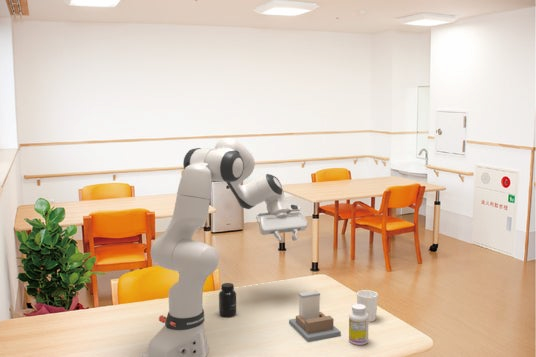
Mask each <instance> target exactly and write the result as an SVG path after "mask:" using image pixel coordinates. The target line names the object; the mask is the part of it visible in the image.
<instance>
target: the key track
mask: <svg viewBox="0 0 536 357" xmlns="http://www.w3.org/2000/svg"><path fill="white" fill-rule="evenodd" d="M288 324H289V325H290V326H291V327H292V328H293V329H294V330H295V331H296V332H297V333H298V334H299V335H300V336H301V337H302V338H303V339H304V340H305V341H306V342H308V343H309V342H315V341H320V340H325V339H330V338H335V337H341V335H342V331H341V330H339V328H337V327H336V326H335V325H334V318H333V317H332V316H331V315H326V314H324V312H321V311H320V317H319V318H313V319H307V320H305V321H304V320H303V319H302V318H301V317H300V316H299V314H298V315H296V316H295V318H290V319H289V320H288Z"/></svg>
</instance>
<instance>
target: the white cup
mask: <svg viewBox="0 0 536 357" xmlns="http://www.w3.org/2000/svg"><path fill="white" fill-rule="evenodd" d="M378 296H379V293H378V292H377V291H374V290H370V289H363V290H359V291H357V292H356V304H362V305H365V306H366V311H365V312H366V313H367V314H368V317H369V319H368V323H372V322H374V321H376V320H377V312H378V311H377V310H378V298H379V297H378Z"/></svg>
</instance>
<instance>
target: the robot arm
mask: <svg viewBox="0 0 536 357" xmlns="http://www.w3.org/2000/svg"><path fill="white" fill-rule="evenodd" d="M252 154H253V153H251V152H250V151H249V149H247V148H246V146H244V144H242V143H241V142H239V141H238V140H236V139H234V138H232V137H224V138H222V139H220V140H219V141H218V142H217V143H216V145H215V146H214V148H200V147H196V148H191V149H189V151H188V152H186V154H184V155H185V156H184V157H183V163H182V164H183V171H182V174H181V177H180V179H179V184H178V188H177V191H176V200H175V203H174V209H173V214H172V217H171V220H170V223H169V224H168V226H167V228H166V229H165V230H164V232H163V233H162V234H161V235H160V236H159V237H157V238H156V239H155V240H154V241H153V243H152V245H151V247H150V251H149V253H150V259H151V260H152V262H153V263H155V264H156V265H157V266H159V267H161V268H163V269H166V270H170V271H173V272H174V271H175V272H177V273H178V281H177V282H176V283H174V284H173V285H171V286H170V288H169V290H168V295H167V296H168V312H167V316H164V315H160V316H159V317H158V321H159V322H161V323H162V324H163V323H164V325H163V326H162V327H161V329H160V330H159V331H158V332H157V333H156V335H154V336H153V338H152V339H151V340H150V341H149V344H148V350H147V353H144V354H143V355H141V357H207V355H208V353H209V350H210V348H209V345H208V343H207V338H206V333H205V328H204V327H205V325H204V322H205V311H204V308H203V290H204V286H205V284H206V283H205V282H206V280H207V278H208V277H209V276H211V275H212V274H213V273H215V271H216V269H217V268H218V265H219V253H218V251H217V249H216V248H215V247H214V246H212V245H210V244H207V243H205V242H204V241H200V240H199V241H198V240H194V239H192V238H193V236H194V234H195V233H196V231H197V230H198V229H199V228H202V227H203V226H205V225H206V223H207V221H208V215H209V208H210V203H211V197H212V196H211V195H212V182H225V183H226V185H227V186H228V188H229V189H230V191H231V193H232V194H233V195H234V197H235V199H236V201H237V203H238V205H239V206H240V207H241V208H242V209H244V210H245V209H246V210H250V209H252V208H254V207H256V206H257V205H259V204H261V203H263V202H265V204H266V210H267V212H264V213H261V212H260V213H259V214H257V215H256V221H257V223H258V229H259V234H261V235H263V236H266V235H273V236H274V237H275V238H276V239H277V240H278V243H283V242H284V238H283V236H281V235H280V234H283V233H292V236H291V239H292V241H293V242H294V241H297V240H298V236H297V234H298V232H301V231H302V232H303V231H306V229H307V228H308V225H309V223H308V221H307V217H306V216H305V214H304V213H303V211H302V210H301V205H298V204H297V205H296V204H293V203H290V202H289V203H288V201H287V200H286V198H285V193H284V190H283V187H282V184H281V181H280V180H279V178H278V177H276V176H275V175H272V174H269V173H266V174H264V175H262V176H259V177H258V178H255V179H254V180H252V181H249V182H247V183H245V184H242V185H241V183H242V182H243V181H245V180H247V179H248V178H249V177H250V176H252V174H253V172H254V169H255V165H256V164H255V158H254V155H252Z"/></svg>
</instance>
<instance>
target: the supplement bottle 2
mask: <svg viewBox="0 0 536 357" xmlns="http://www.w3.org/2000/svg"><path fill="white" fill-rule="evenodd" d="M351 310H352V311H351V312H350V313H349V314H348V315H349V316H348V318H349V319H348V341H349V342H350V343H351V344H353V345H357V346H364V345H366V344H367V343H369V342H368V341H369V322H368V319H369V317H368V314H367V313H366V312H365V311H366V306H365V305H362V304H357V303H355V304H352V306H351Z"/></svg>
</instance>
